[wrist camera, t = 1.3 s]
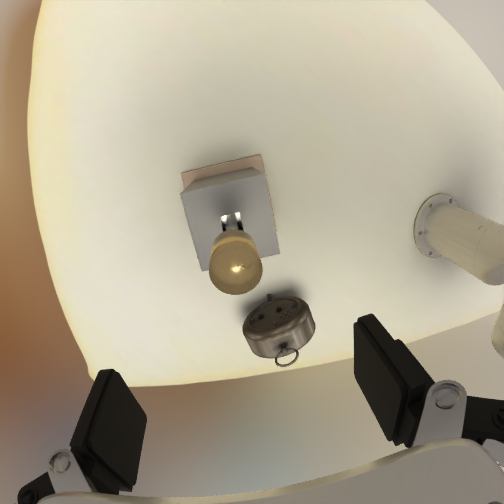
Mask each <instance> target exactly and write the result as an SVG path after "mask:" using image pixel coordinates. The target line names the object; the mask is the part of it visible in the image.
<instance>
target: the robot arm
mask: <svg viewBox="0 0 504 504" xmlns="http://www.w3.org/2000/svg"><path fill="white" fill-rule="evenodd" d="M414 235H415V241H416V244H417V246H418V248H419V250H420V251H421V252H422V253H424V254H425V255H427V256H428V257H432V258H437V257H441V256H443V257H445V258H447V259H448V260H450V261H451V262H453V263H455V264H456V265H458V266H459V267H461V268H463V269H464V270H466V271H467V272H469V273H470V274H472V275H473V276H475V277H476V278H478V279H479V280H481V281H483V282H484V283H486V284H489V285H501V284H504V226H503V225H501V224H499V223H496V222H494V221H491V220H489V219H486V218H484V217H481V216H479V215H476V214H474V213H471V212H469V211H466V210H463V209H461V208H459V205H458V204H457V202H456V201H455V200H454V199H453V198H452V197H450V196H448V195H444V194H438V195H434V196H432V197H430V198H429V199H428V200H427V201H426V202H425V203H424V204H423V205H422V207H421V208H420V210H419V212H418V215H417V218H416V221H415V227H414ZM491 338H492V344H493V347H494V348H495V350H496V351H497V352H498V353H499V355H500V356H502V357H503V358H504V303H503V305H502V308H501V310H500V313H499V316H498V318H497V320H496V323H495V325H494V328H493V331H492V336H491ZM354 375H355V378H356V381H357V383H358V384H359V386H360V388H361V390H362V392H363V394H364V396H365V398H366V400H367V401H368V403H369V405H370V407H371V409H372V411H373V413H374V415H375V416H376V419H377V420H378V423H379V424H380V427H381V428H382V430H383V432H384V434H385V436H386V438H387V440H388V441H392V440H393V442H394V444H395V446H398V445H400V444H402V443H404V444H405V446H406V447H407V448H408V449H405V450H402V451H400V452H397V453H394V454H392V455H389V456H386V457H383V458H380V459H378V460H375V461H372V462H370V463H367V464H364V465H361V466H358V467H355V468H352V469H349V470H346V471H342V472H339V473H336V474H332V475H329V476H325V477H322V478H318V479H314V480H310V481H306V482H302V483H298V484H293V485H289V486H283V487H278V488H273V489H267V490H261V491H254V492H247V493H239V494H231V495H221V496H207V497H184V498H182V497H181V498H161V497H137V496H123V495H119V490H120V491H127V492H132V488H133V485H135V484H136V480H137V473H138V467H139V461H140V456H141V450H142V444H143V439H144V433H145V428H146V423H147V417H146V414H145V412H144V411H143V409H142V408H141V406H140V405H139V403H138V402H137V400H136V399H135V397H134V396H133V394H132V393H131V391H130V390H129V388H128V386H127V385H126V383H125V382H124V380H123V378H122V377H121V375H120V374H119V373H118V372H116V371H115V370H114V369H105V370H100V371H99V372H98V375H97V377H96V379H95V382H94V384H93V386H92V389H91V391H90V394H89V396H88V398H87V401H86V403H85V406H84V408H83V410H82V413H81V416H80V418H79V421H78V423H77V426H76V429H75V432H74V434H73V437H72V439H71V442H70V446H71V450H70V451H69V450H68V449H59V450H56V451H54V452H53V453H52V454H51V455H50V456H49V458H48V460H47V464H46V467H47V472H46V473H44V474H43V475H41V476H40V477H38V478H36V479H35V480H33V481H31V482H30V483H28V484H27V485H25V486H24V487H22V488H21V490H20V491H19V493H18V504H504V472H503V470H502V469H501V467H500V466H502V467H504V400H495V399H487V398H479V397H472V396H467V393H466V391H465V388H464V387H463V386H462V385H461V384H460V383H458V382H456V381H452V380H442V381H439V382H437V383H435V382H434V381H433V380H432V378H431V377H430V376H429V374H428V373H427V372H426V371H425V370H424V368H423V367H422V365H421V364H420V363H419V362H418V360H417V359H416V358H415V357H414V356H413V355H412V353H411V352H410V351H409V349H408V348H407V347H406V346H405V344H404V343H403V342H402V341H401V340H399V339H397V340H394V339H393V338H392V337H391V335H390V334H389V333H388V332H387V330H386V329H385V328H384V327H383V325H382V324H381V323H380V322H379V321H378V319H377V318H376V317H375V316H374V315H373V314H368V315H365V316H362V317H359V318H358V320H357V322H355V323H354ZM496 461H498V462H499V464H497V462H496ZM499 465H500V466H499ZM15 504H16V503H15Z"/></svg>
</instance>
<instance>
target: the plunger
mask: <svg viewBox="0 0 504 504" xmlns="http://www.w3.org/2000/svg"><path fill="white" fill-rule="evenodd" d="M220 219H221V223H222V227H223V231H224V232H222V233H220V234H219V235H218V236H217V237H216V238H215V240H214V242H213V244H212V248H211V256H210V264H209V275H210V279H211V281H212V283H213V284H214V285H215V286H216V288H218V289H219V290H220V291H222V292H224V293H227V294H231V295H239V294H244V293H246V292H249V291H250V290H252V289H253V288H254V287H255V286H256V285H257V284H258V283H259V281H260V279H261V276H262V263H261V260H260V257H259V254H258V250H257V247H256V244H255V242H254V240H253V238H252V237H251V236H250V235H249V234H248V233H246V232H244V231H242V229H243V225H242V221H241V217H240V212H238V213H234V214H230V215H225V216H221V217H220Z"/></svg>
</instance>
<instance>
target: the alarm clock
mask: <svg viewBox="0 0 504 504" xmlns="http://www.w3.org/2000/svg"><path fill="white" fill-rule="evenodd" d="M267 297H268V302H266V303H264V304H262V305H260V306H259V307H257V308H256V309H254V310H253V311H252V312H251V313H250V314H249V315H248V316H247V318H246V319H245V321H244V324H243V334H244V336H245V338H246V340H247V342H248V344H249V346H250V348H251V350H252V352H253V353H254V354H256V355H257V356H259V357H263V358H275V363H276V365H277V366H280V367H287V366H290V365H291V364H293V363H294V362H295V361H296V360H297V358H298V356H299V353H298V351H297V350H299V349H301V348H302V347H303V346H304V345H306V344H307V343H308V342H309V341H310V339H311V338H312V336H313V334H314V332H315V322H314V320H313V318H312V315H311V312H310V309H309V306H308V304H307V303H306V302H305V301H304V300H302V299H300V298H296V297H281V298H277V299H272V296H271V294H267ZM294 352H296V357H295V359H294V360H293V361H292V362H290V363H289V364H286V365H281V364H279V363H278V362H277V358H279V357H284V356H287V355H289V354H292V353H294Z"/></svg>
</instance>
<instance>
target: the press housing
mask: <svg viewBox="0 0 504 504" xmlns="http://www.w3.org/2000/svg"><path fill="white" fill-rule="evenodd" d="M181 175H182V179H183V183H184V187H185V190H184V191H183V192H182V193H181V194H180V195H181V199H182V202H183V206H184V210H185V214H186V217H187V221H188V225H189V228H190V232H191V235H192V239H193V242H194V246H195V249H196V253H197V256H198V260H199V263H200V267H201V270H202V271H206V270H209V264H210V256H211V248H212V244H213V242H214V240H215V238H216V237H217V236H218V235H219V234H220V233H222V232H224V231H223V227H222V223H221V219H220V217H221V216H225V215H230V214H234V213H238V212H240V217H241V221H242V225H243V229H242V231H244V232H246V233H248V234H249V235H250V236H251V237H252V238H253V240H254V242H255V244H256V247H257V250H258V254H259V257H260V258H263V257H267V256H272V255H276V254H280V250H279V244H278V239H277V234H276V226H275V221H274V215H273V210H272V205H271V200H270V195H269V190H268V186H267V181H266V176H265V171H264V166H263V161H262V157H261V155H257V156H252V157H247V158H242V159H238V160H233V161H229V162H224V163H220V164H216V165H212V166H208V167H204V168H200V169H196V170H192V171H188V172H184V173H181Z"/></svg>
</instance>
